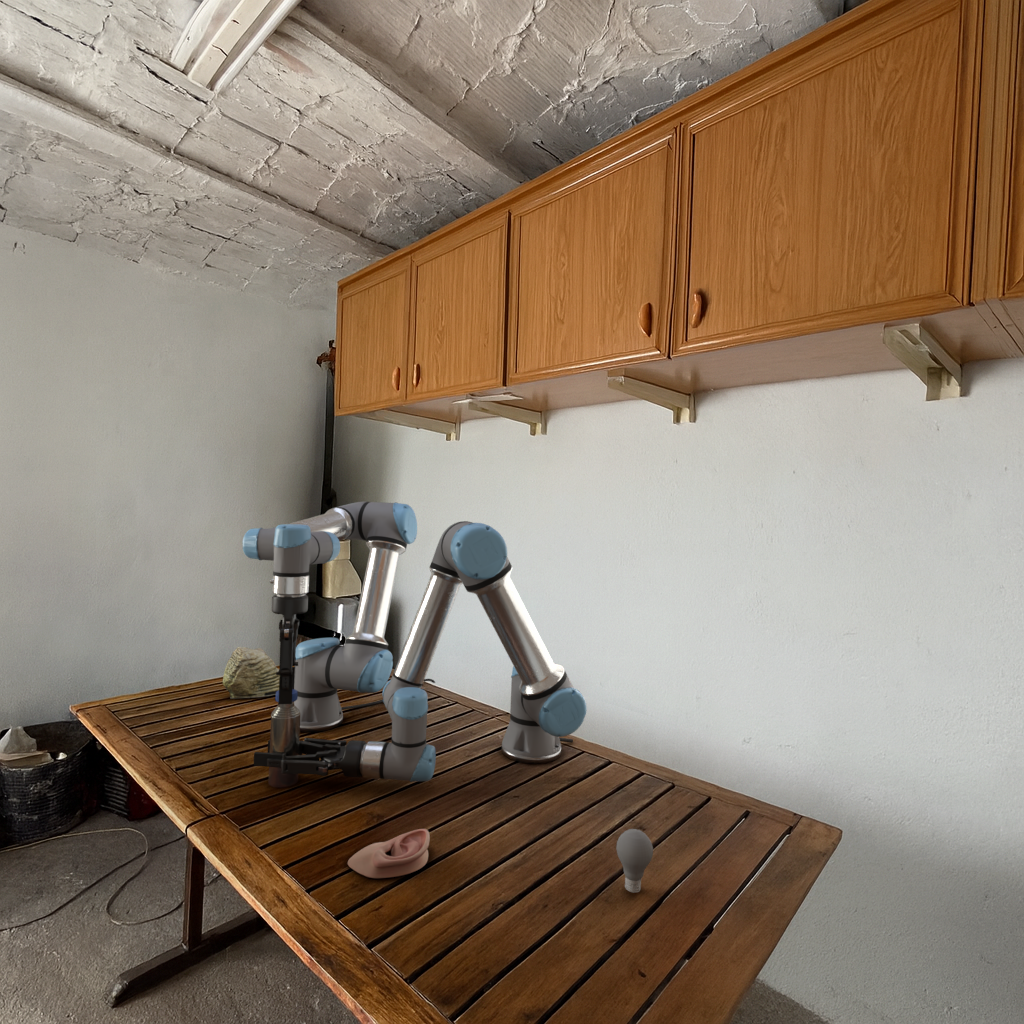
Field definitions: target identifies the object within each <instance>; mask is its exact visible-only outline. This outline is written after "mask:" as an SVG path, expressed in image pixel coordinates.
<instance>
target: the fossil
mask: <svg viewBox="0 0 1024 1024" xmlns="http://www.w3.org/2000/svg"><path fill="white" fill-rule="evenodd" d="M276 672H279V668H278V667H277V665H276V663H275V662H274V660H273V659H272V658H271V657H270V656H269V655H268V654H267V653H266V652H265V650H264V649H263V648H260V647H258V648H251V647H247V646H246V647H245V646H238V647H237V648H236V649H235V650H233V651H232V653H231V656H230V657H229V659H228V660H227V663H226V666H225V668H224V671H223V675H222V676H223V677H222V685H223V687H224V688H225V690H226V691H228V693H229V698H230V699H250V698H264V697H271V696H275V694H276V692H277V691H278V690H279V677H280V675H276Z"/></svg>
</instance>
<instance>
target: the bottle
mask: <svg viewBox="0 0 1024 1024" xmlns="http://www.w3.org/2000/svg"><path fill="white" fill-rule="evenodd" d="M300 738H301V731H300V710H299V709H298V708H297V707H296V706H295V705H294V702H292V704H279V702H277V706H276V707H275V708H274V709H273V711H272V712H271V714H270V732H269V740H270V753H280V754H283V753H286V756H295V755H299V741H301V739H300ZM298 781H299V774H288V773H282V768H280V767H268V785H269V786H270V787H273V788H287V787H291V786H293V785H296V784H297V783H298Z"/></svg>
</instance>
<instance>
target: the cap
mask: <svg viewBox="0 0 1024 1024" xmlns="http://www.w3.org/2000/svg"><path fill="white" fill-rule="evenodd" d="M274 696H275V698H274V699H275V702H277V703H278V702H279V690H278V691H277V692H276V694H275V695H274ZM297 698H298V693H297V690H295V689H292V702H294V701H296V700H297Z"/></svg>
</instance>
